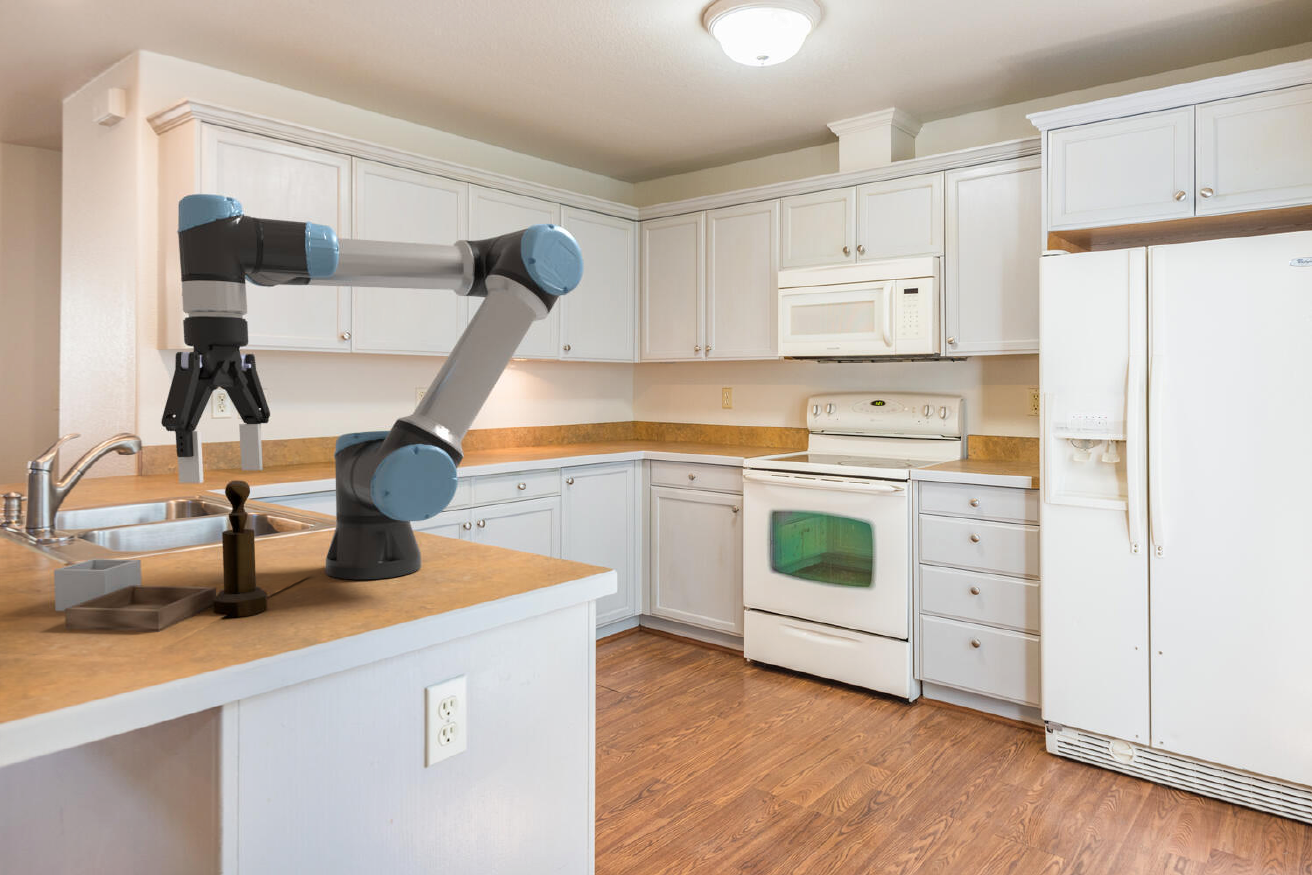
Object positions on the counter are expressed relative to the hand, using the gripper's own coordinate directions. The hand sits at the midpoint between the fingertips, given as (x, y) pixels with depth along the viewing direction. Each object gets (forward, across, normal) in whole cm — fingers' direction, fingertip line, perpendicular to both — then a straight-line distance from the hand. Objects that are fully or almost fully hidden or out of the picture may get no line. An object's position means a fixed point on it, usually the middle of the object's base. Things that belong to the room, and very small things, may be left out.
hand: (223, 476), depth 110 cm
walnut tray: (+18, +5, -9) cm, 21 cm away
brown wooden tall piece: (+19, 0, +1) cm, 19 cm away
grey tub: (+18, 0, -19) cm, 26 cm away
